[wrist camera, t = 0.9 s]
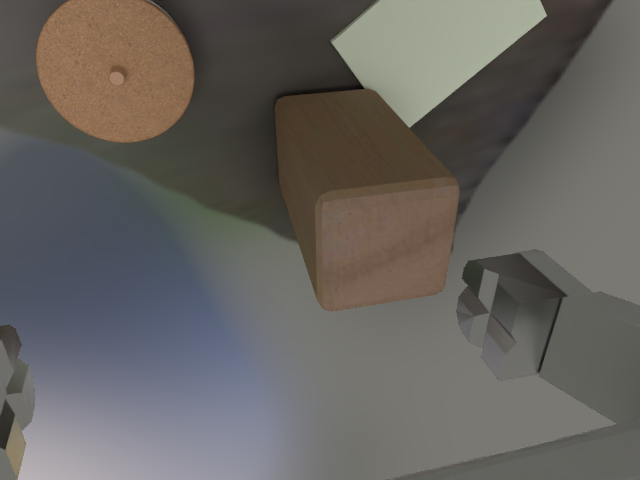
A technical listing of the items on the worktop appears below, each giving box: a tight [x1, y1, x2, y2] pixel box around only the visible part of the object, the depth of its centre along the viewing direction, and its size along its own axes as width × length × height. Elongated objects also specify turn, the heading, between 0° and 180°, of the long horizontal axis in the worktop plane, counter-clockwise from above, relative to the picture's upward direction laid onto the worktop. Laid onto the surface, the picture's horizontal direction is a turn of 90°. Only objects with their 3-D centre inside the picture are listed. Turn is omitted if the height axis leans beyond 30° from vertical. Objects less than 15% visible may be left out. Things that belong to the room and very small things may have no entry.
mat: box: [330, 0, 547, 128], centre depth 50 cm, size 18×12×1 cm, turn 127°
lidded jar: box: [36, 0, 195, 143], centre depth 41 cm, size 11×11×9 cm
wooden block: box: [274, 89, 459, 311], centre depth 45 cm, size 10×10×20 cm
